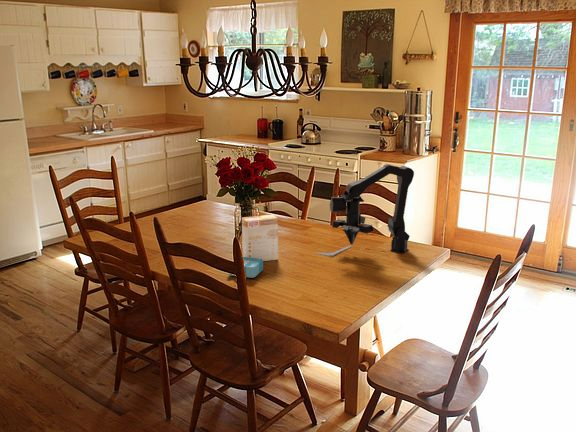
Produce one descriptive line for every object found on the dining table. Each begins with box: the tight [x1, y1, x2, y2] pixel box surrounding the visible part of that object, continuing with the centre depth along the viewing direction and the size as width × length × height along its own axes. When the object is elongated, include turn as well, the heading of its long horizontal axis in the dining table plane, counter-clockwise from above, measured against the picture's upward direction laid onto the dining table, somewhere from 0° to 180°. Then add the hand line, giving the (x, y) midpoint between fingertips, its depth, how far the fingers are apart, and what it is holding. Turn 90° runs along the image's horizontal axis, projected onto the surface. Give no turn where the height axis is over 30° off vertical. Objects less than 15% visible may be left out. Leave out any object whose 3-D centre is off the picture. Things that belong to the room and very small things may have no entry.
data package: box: [228, 256, 264, 279], centre depth 223 cm, size 12×4×12 cm
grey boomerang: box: [313, 245, 353, 258], centre depth 254 cm, size 14×18×1 cm
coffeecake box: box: [241, 214, 279, 262], centre depth 238 cm, size 15×7×20 cm, turn 111°
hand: (351, 244), depth 246 cm, fingers closed
